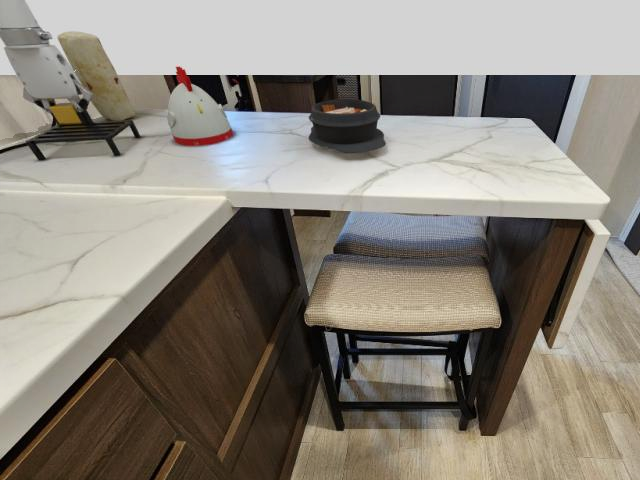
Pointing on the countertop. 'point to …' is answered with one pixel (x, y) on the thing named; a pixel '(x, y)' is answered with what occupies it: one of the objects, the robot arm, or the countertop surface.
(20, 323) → the countertop surface
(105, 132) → the rack
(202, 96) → the kitchen timer
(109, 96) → the food model
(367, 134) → the casserole
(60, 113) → the block
